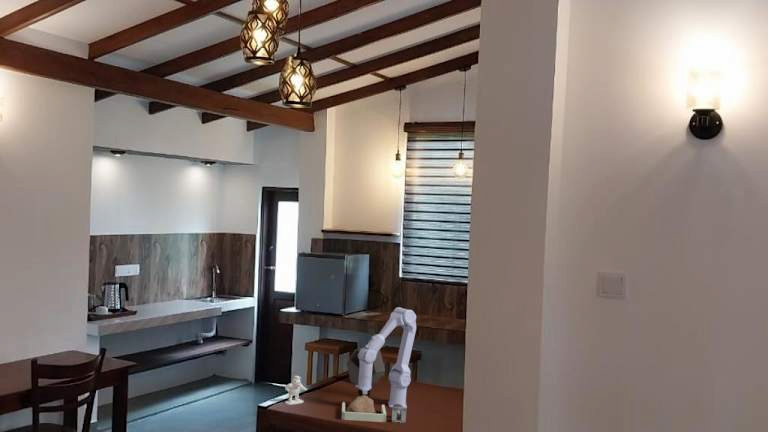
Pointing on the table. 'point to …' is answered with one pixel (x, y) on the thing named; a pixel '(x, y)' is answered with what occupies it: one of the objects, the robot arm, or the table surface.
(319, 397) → the table surface
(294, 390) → the figurine
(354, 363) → the planter
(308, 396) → the table surface
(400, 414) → the wheel
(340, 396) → the table surface
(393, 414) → the axle mount
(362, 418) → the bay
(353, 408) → the stone
